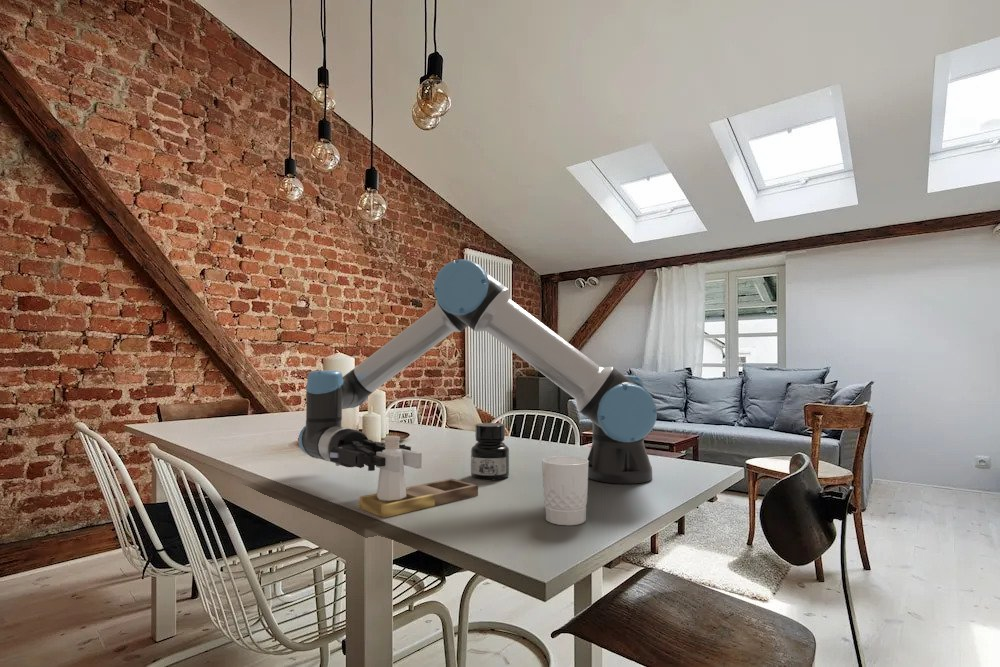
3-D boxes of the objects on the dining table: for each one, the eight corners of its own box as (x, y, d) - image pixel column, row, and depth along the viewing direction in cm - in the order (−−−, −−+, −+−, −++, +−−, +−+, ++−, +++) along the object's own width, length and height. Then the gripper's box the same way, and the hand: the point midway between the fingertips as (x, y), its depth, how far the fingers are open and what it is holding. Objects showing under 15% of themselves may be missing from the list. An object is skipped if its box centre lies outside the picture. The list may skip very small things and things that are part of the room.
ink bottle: (464, 479, 119) (464, 426, 120) (474, 471, 128) (475, 421, 128) (506, 482, 117) (506, 427, 118) (514, 473, 126) (514, 423, 126)
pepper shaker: (395, 491, 100) (396, 433, 101) (412, 497, 97) (413, 436, 97) (370, 497, 96) (371, 436, 97) (387, 502, 93) (388, 439, 93)
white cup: (532, 520, 89) (532, 460, 89) (559, 510, 95) (558, 454, 95) (572, 530, 84) (572, 466, 84) (597, 519, 90) (597, 459, 90)
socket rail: (451, 488, 111) (451, 478, 111) (478, 495, 105) (478, 485, 105) (359, 507, 96) (359, 496, 97) (384, 517, 90) (384, 506, 90)
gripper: (380, 459, 115) (446, 476, 99) (304, 470, 104) (365, 492, 87) (380, 425, 116) (447, 436, 99) (305, 432, 104) (366, 446, 87)
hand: (408, 462), depth 93 cm, fingers closed on pepper shaker, 4 cm apart
